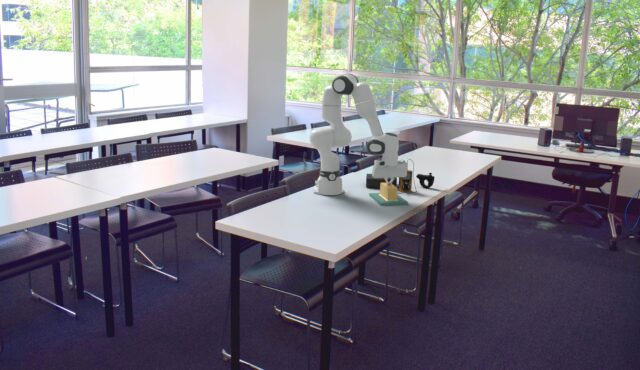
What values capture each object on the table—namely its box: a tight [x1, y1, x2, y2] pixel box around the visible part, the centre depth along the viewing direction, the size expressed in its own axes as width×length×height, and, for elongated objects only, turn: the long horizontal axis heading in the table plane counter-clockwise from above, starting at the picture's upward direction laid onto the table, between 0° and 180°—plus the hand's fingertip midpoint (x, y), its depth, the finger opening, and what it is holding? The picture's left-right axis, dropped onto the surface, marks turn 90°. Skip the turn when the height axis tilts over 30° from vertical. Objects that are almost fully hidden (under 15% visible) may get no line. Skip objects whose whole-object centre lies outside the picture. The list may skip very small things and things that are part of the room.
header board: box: [368, 192, 409, 207], centre depth 332 cm, size 22×16×6 cm
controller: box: [416, 172, 435, 189], centre depth 362 cm, size 4×12×10 cm, turn 48°
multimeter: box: [398, 158, 417, 195], centre depth 347 cm, size 15×10×20 cm
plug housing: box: [379, 183, 399, 200], centre depth 331 cm, size 14×6×7 cm, turn 13°
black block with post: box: [365, 154, 398, 189], centre depth 364 cm, size 19×17×20 cm
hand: (389, 184), depth 330 cm, fingers closed
